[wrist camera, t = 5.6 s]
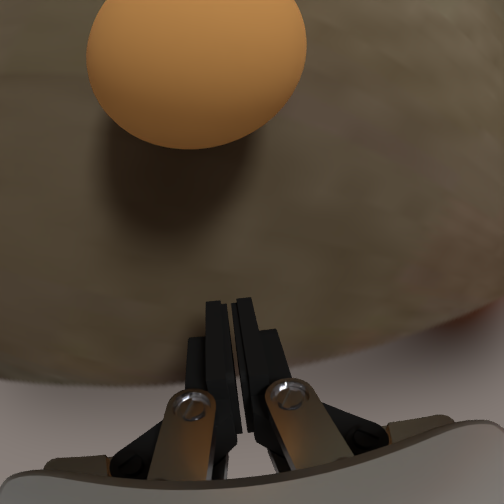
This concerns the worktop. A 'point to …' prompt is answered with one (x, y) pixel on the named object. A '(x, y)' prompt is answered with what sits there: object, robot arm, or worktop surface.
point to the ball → (195, 67)
